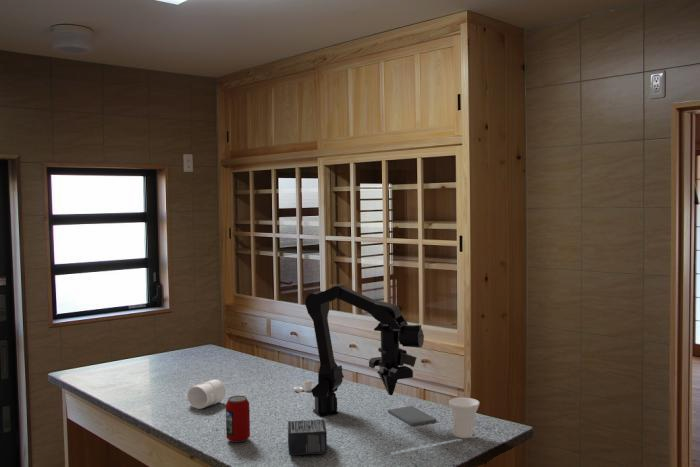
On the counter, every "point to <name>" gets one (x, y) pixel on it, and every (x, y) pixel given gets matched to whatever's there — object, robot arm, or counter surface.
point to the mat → (411, 415)
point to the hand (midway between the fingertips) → (390, 394)
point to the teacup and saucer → (305, 387)
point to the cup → (463, 416)
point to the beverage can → (237, 419)
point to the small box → (307, 437)
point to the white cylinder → (206, 394)
